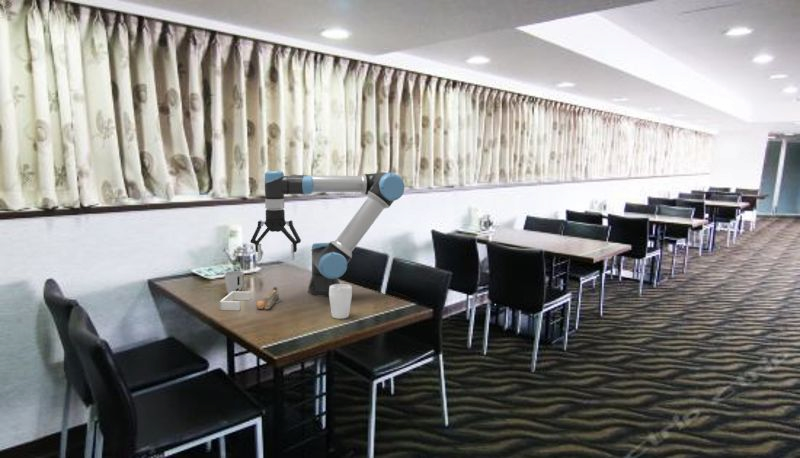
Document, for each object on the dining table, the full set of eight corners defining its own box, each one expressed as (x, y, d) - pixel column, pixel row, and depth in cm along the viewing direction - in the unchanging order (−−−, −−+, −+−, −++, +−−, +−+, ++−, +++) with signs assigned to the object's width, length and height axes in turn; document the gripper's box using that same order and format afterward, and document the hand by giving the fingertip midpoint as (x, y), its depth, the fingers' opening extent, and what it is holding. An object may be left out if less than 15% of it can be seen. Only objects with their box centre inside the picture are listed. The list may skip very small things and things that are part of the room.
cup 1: (238, 298, 202) (237, 275, 201) (221, 296, 204) (220, 274, 202) (247, 293, 210) (247, 271, 209) (231, 291, 212) (230, 270, 210)
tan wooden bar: (279, 298, 201) (279, 286, 200) (271, 308, 187) (270, 296, 186) (272, 298, 201) (272, 286, 200) (263, 308, 186) (263, 296, 186)
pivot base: (283, 299, 203) (283, 298, 202) (280, 303, 197) (280, 302, 197) (270, 298, 202) (270, 297, 202) (266, 302, 196) (266, 302, 196)
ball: (266, 307, 190) (266, 299, 190) (264, 310, 187) (264, 302, 186) (258, 307, 190) (257, 299, 190) (255, 310, 187) (255, 301, 186)
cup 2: (340, 310, 189) (341, 282, 187) (356, 316, 183) (356, 286, 181) (324, 316, 182) (324, 286, 180) (339, 321, 176) (340, 291, 174)
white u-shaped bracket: (250, 299, 201) (250, 291, 200) (239, 310, 186) (239, 302, 185) (232, 299, 200) (231, 291, 200) (219, 310, 186) (219, 301, 185)
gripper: (306, 208, 194) (307, 257, 197) (246, 207, 192) (248, 257, 196) (304, 210, 187) (305, 261, 190) (241, 209, 185) (243, 261, 188)
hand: (276, 259), depth 193 cm, fingers open, 13 cm apart
